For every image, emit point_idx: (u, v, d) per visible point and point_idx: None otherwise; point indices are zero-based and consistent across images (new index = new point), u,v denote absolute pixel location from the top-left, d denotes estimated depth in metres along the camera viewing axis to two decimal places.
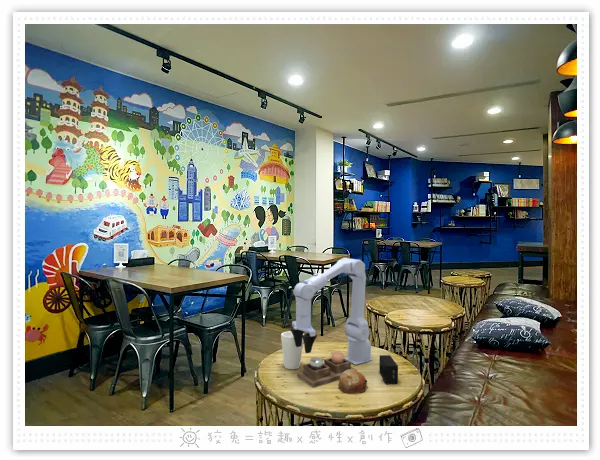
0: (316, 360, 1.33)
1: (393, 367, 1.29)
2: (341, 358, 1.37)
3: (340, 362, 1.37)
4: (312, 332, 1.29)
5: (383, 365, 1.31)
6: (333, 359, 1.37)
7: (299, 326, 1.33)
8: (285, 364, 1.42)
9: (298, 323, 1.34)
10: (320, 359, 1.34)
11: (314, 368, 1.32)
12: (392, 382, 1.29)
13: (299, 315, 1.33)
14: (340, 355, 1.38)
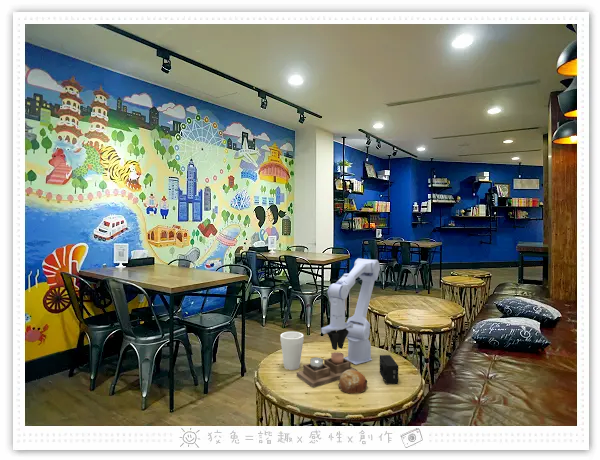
0: (316, 360, 1.33)
1: (394, 367, 1.29)
2: (341, 358, 1.37)
3: (340, 362, 1.37)
4: (322, 329, 1.35)
5: (383, 365, 1.31)
6: (333, 359, 1.37)
7: None
8: (285, 365, 1.42)
9: None
10: (320, 359, 1.34)
11: (314, 368, 1.32)
12: (392, 382, 1.29)
13: (336, 315, 1.36)
14: (340, 355, 1.38)
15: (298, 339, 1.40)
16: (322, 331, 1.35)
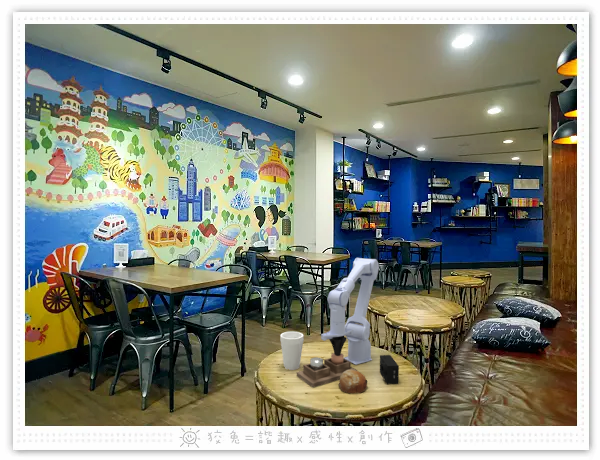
0: (316, 360, 1.33)
1: (394, 367, 1.29)
2: (341, 358, 1.37)
3: (340, 362, 1.37)
4: (322, 336, 1.35)
5: (384, 365, 1.31)
6: (333, 360, 1.37)
7: None
8: (285, 365, 1.42)
9: None
10: (320, 359, 1.34)
11: (314, 368, 1.32)
12: (393, 382, 1.29)
13: (336, 322, 1.36)
14: (340, 355, 1.38)
15: (298, 339, 1.40)
16: (322, 338, 1.35)
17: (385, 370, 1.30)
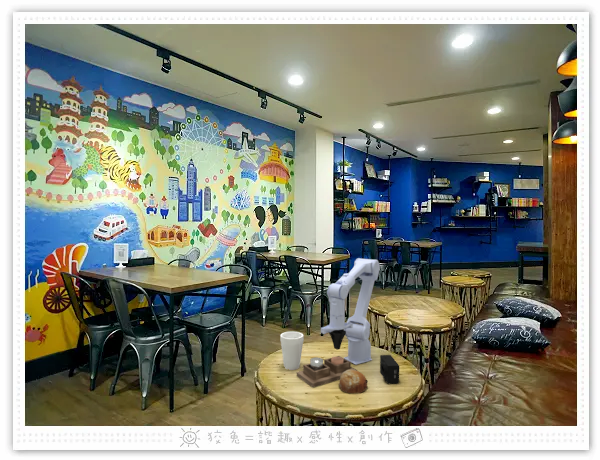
0: (316, 360, 1.33)
1: (395, 367, 1.29)
2: (341, 362, 1.37)
3: None
4: (321, 329, 1.35)
5: (384, 365, 1.31)
6: None
7: None
8: (285, 365, 1.42)
9: None
10: (320, 359, 1.34)
11: (314, 368, 1.32)
12: (393, 382, 1.30)
13: (336, 315, 1.36)
14: (340, 359, 1.38)
15: (298, 339, 1.40)
16: (322, 331, 1.35)
17: (386, 370, 1.30)
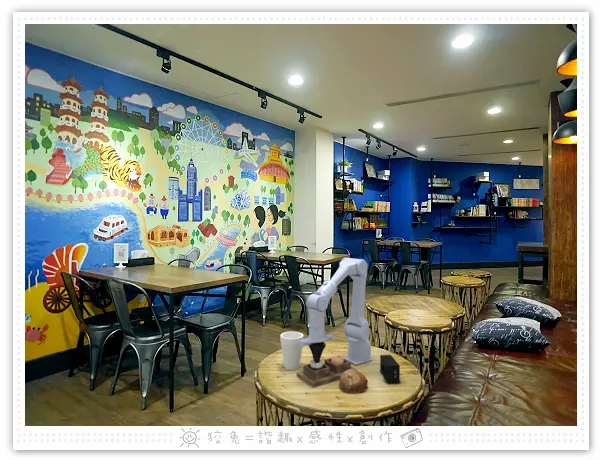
0: None
1: (395, 367, 1.29)
2: (341, 362, 1.37)
3: None
4: (300, 342, 1.30)
5: (385, 365, 1.31)
6: None
7: None
8: (285, 365, 1.42)
9: None
10: (320, 361, 1.34)
11: (314, 370, 1.32)
12: (394, 382, 1.30)
13: (314, 327, 1.31)
14: (340, 359, 1.38)
15: (298, 339, 1.40)
16: (300, 344, 1.30)
17: (386, 370, 1.30)
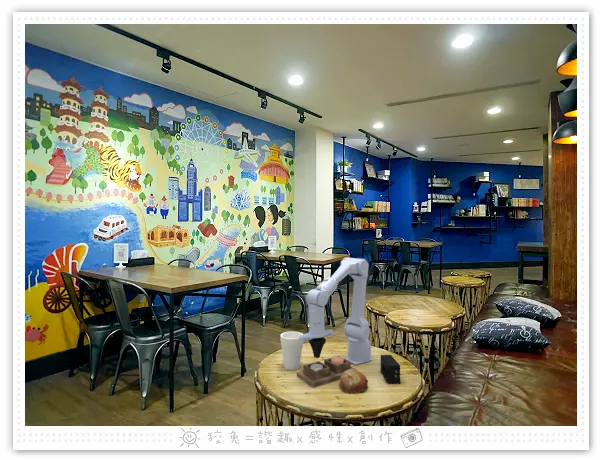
0: (316, 366, 1.33)
1: (396, 367, 1.30)
2: (341, 362, 1.37)
3: None
4: (300, 337, 1.30)
5: (385, 365, 1.31)
6: None
7: None
8: (285, 365, 1.42)
9: None
10: (320, 366, 1.34)
11: None
12: (394, 382, 1.30)
13: (314, 322, 1.31)
14: (340, 359, 1.38)
15: (298, 339, 1.40)
16: (300, 339, 1.30)
17: (387, 370, 1.30)
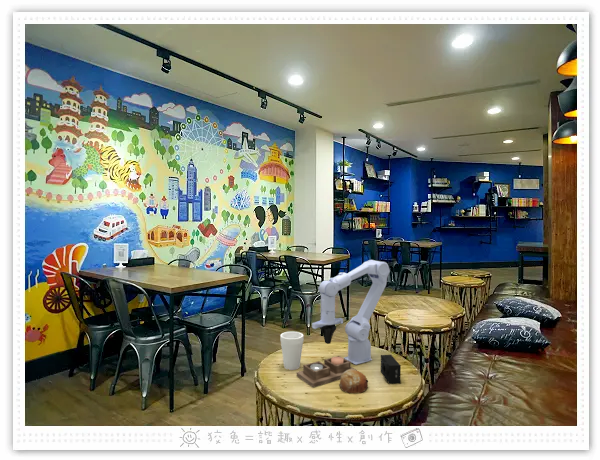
0: (316, 366, 1.33)
1: (396, 366, 1.30)
2: (341, 362, 1.37)
3: None
4: (312, 324, 1.41)
5: (386, 365, 1.31)
6: None
7: None
8: (285, 365, 1.42)
9: None
10: (320, 366, 1.34)
11: None
12: (395, 381, 1.30)
13: (323, 310, 1.43)
14: (340, 359, 1.38)
15: (298, 339, 1.40)
16: (313, 326, 1.41)
17: (387, 370, 1.30)
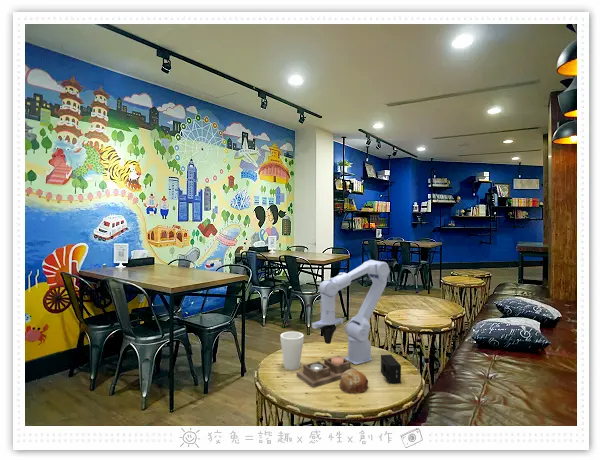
0: (316, 366, 1.33)
1: (396, 366, 1.30)
2: (341, 362, 1.37)
3: None
4: (312, 324, 1.41)
5: (386, 365, 1.31)
6: None
7: None
8: (285, 365, 1.42)
9: None
10: (320, 366, 1.34)
11: None
12: (395, 381, 1.30)
13: (323, 310, 1.43)
14: (340, 359, 1.38)
15: (298, 339, 1.40)
16: (313, 326, 1.41)
17: (387, 370, 1.30)
